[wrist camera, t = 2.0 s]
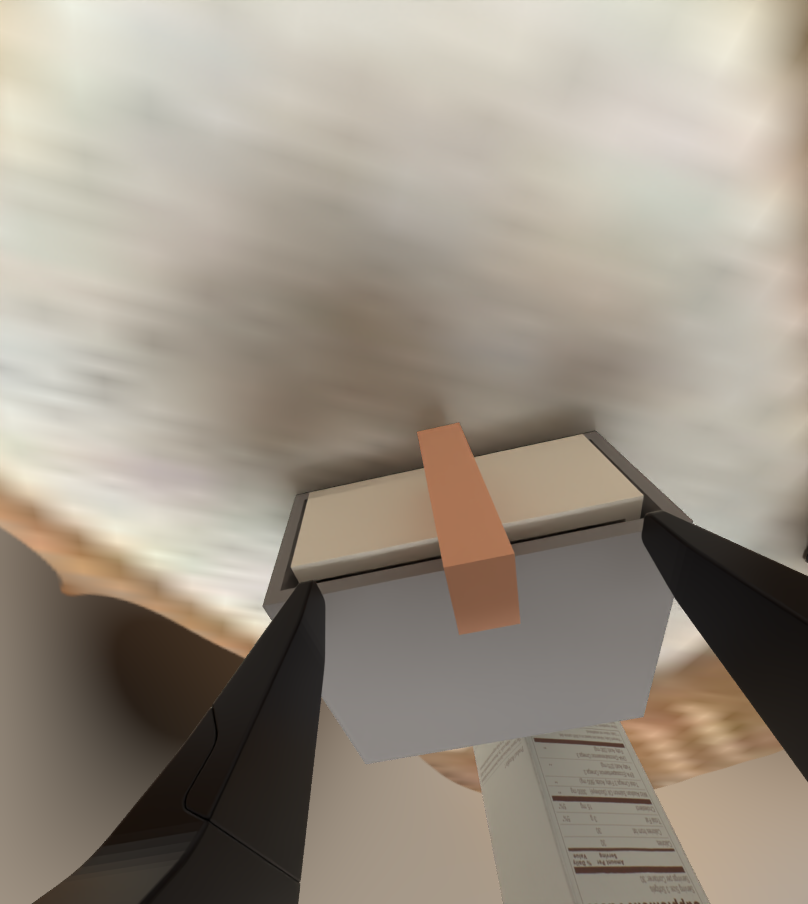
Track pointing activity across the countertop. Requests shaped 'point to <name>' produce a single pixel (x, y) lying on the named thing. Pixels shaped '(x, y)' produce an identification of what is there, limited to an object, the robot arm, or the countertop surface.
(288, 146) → the countertop surface
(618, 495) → the tray
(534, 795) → the supplement box
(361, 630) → the mailer sleeve
